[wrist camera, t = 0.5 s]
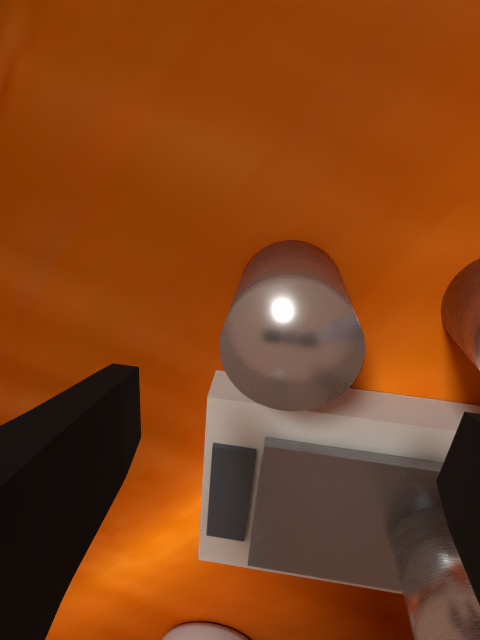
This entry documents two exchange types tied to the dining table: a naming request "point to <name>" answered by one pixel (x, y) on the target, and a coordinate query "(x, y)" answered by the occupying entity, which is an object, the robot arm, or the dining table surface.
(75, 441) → the robot arm
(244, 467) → the scale
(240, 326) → the cylinder
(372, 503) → the grey metal plate
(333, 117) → the dining table surface
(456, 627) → the cylinder
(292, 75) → the dining table surface
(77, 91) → the dining table surface
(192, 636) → the milk bottle
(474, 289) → the cylinder
